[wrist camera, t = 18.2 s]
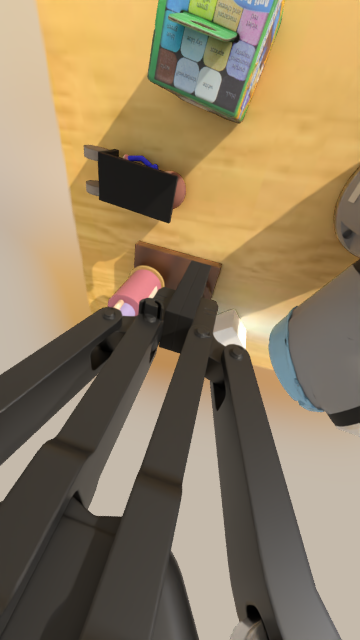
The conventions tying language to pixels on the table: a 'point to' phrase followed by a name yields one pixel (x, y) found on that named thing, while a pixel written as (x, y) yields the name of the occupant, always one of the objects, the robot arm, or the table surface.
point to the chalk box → (213, 51)
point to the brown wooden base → (173, 265)
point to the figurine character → (135, 184)
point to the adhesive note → (229, 329)
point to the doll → (136, 290)
